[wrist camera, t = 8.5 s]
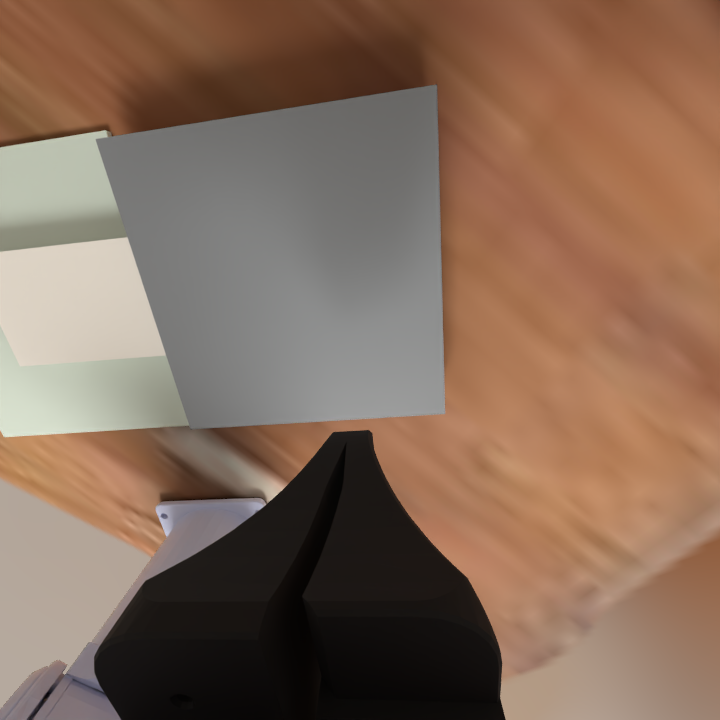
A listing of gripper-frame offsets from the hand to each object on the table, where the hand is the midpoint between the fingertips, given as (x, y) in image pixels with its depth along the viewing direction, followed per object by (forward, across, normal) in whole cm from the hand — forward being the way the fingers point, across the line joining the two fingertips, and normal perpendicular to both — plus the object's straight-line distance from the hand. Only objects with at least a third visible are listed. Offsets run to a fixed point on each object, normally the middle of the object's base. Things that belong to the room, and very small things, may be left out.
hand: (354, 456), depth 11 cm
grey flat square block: (+8, +3, -5) cm, 10 cm away
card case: (+8, +15, -5) cm, 18 cm away
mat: (+8, +18, -5) cm, 20 cm away
